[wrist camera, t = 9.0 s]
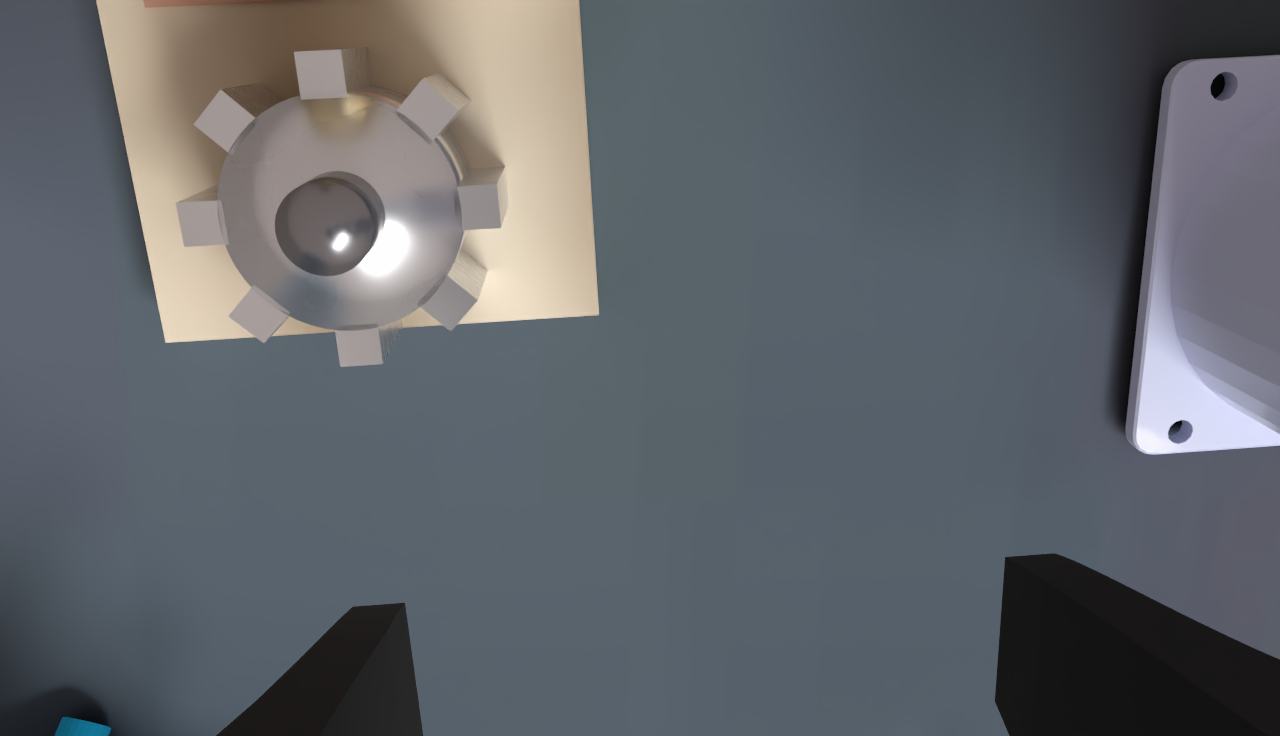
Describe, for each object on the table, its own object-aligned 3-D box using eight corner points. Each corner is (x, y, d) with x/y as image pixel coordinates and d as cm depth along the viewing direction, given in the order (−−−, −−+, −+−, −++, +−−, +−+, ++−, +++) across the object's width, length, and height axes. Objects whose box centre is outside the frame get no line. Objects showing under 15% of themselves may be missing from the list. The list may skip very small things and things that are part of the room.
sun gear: (493, 40, 18) (477, 43, 14) (518, 320, 19) (509, 378, 16) (198, 55, 18) (114, 61, 14) (248, 337, 19) (182, 400, 16)
